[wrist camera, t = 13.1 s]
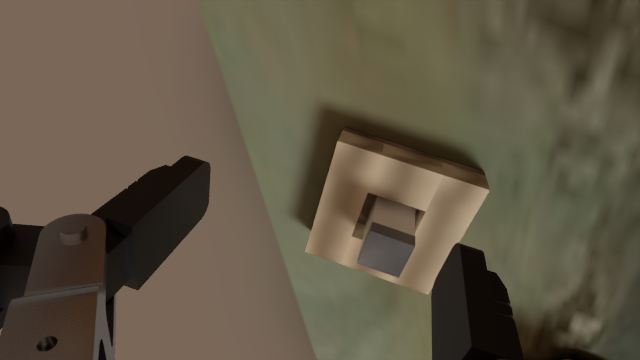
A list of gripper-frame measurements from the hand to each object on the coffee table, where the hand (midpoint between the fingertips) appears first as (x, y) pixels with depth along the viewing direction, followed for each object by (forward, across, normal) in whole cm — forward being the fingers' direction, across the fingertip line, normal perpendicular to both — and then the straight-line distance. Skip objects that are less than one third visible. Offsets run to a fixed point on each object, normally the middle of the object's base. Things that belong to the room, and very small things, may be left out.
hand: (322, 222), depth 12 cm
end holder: (+29, -5, +18) cm, 34 cm away
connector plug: (+28, -5, +18) cm, 34 cm away
